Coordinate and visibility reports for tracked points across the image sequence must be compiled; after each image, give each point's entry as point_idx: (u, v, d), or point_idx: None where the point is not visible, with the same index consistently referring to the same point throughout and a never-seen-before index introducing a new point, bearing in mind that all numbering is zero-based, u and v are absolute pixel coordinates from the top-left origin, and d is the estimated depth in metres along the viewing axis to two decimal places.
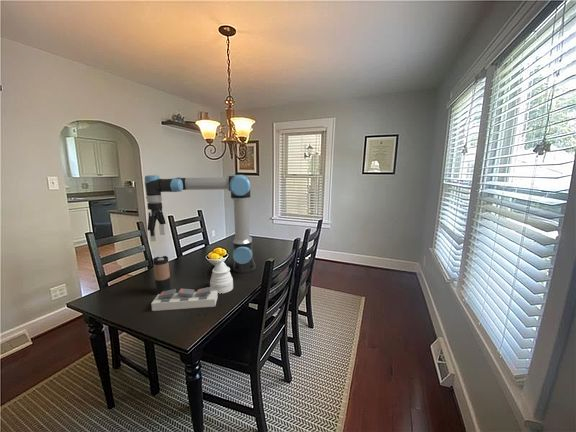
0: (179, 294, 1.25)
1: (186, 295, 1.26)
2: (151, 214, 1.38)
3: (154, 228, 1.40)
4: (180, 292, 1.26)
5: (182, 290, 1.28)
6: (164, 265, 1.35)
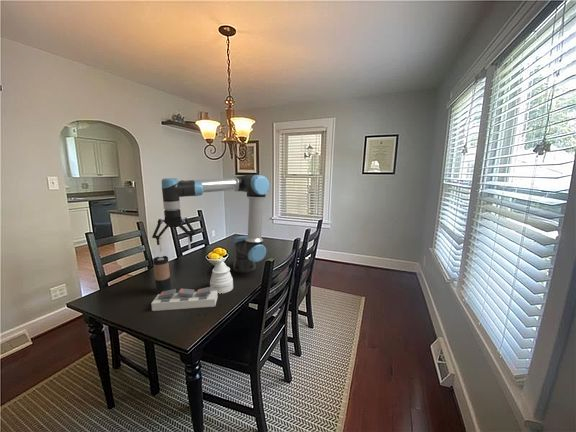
0: (179, 294, 1.25)
1: (186, 295, 1.26)
2: (158, 221, 1.24)
3: (158, 237, 1.25)
4: (180, 292, 1.26)
5: (182, 290, 1.28)
6: (164, 265, 1.35)
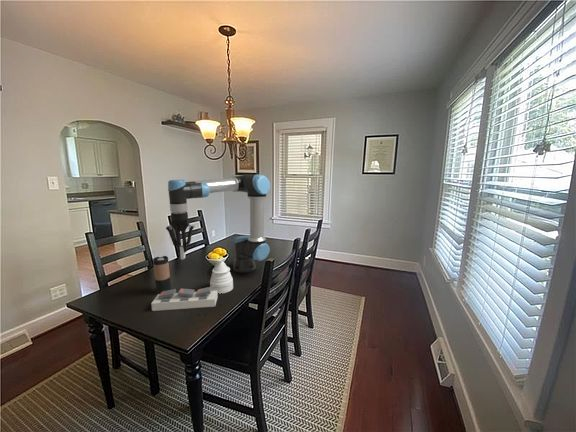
0: (179, 294, 1.25)
1: (186, 295, 1.26)
2: None
3: (179, 244, 1.22)
4: (180, 292, 1.26)
5: (182, 290, 1.28)
6: (164, 265, 1.35)
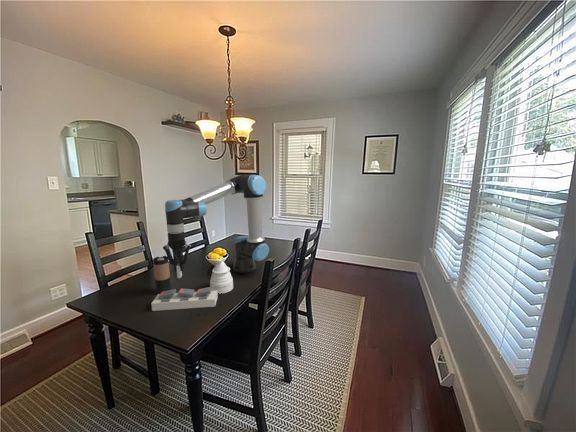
0: (179, 294, 1.25)
1: (186, 295, 1.26)
2: None
3: (175, 263, 1.23)
4: (180, 292, 1.26)
5: (182, 290, 1.28)
6: (164, 265, 1.35)
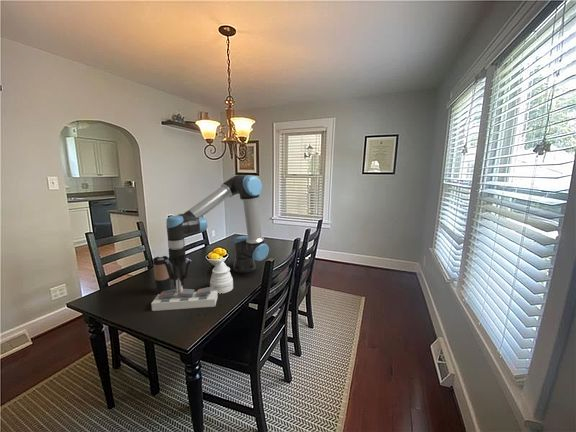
0: (179, 294, 1.25)
1: (186, 295, 1.26)
2: None
3: (175, 278, 1.24)
4: (180, 292, 1.26)
5: (182, 290, 1.28)
6: (164, 265, 1.35)
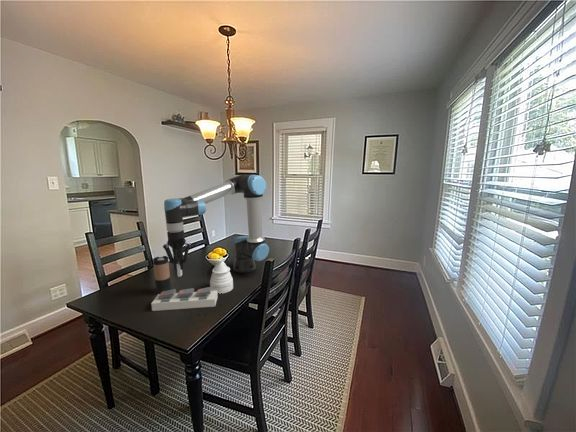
0: (179, 295, 1.25)
1: (186, 295, 1.26)
2: None
3: (175, 262, 1.23)
4: (179, 293, 1.26)
5: (182, 291, 1.28)
6: (164, 265, 1.35)
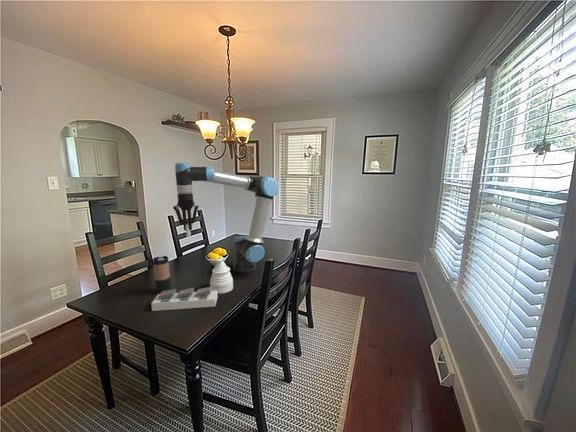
0: (179, 296, 1.25)
1: (186, 295, 1.26)
2: None
3: (184, 222, 1.33)
4: (179, 294, 1.26)
5: (181, 291, 1.28)
6: (164, 265, 1.35)
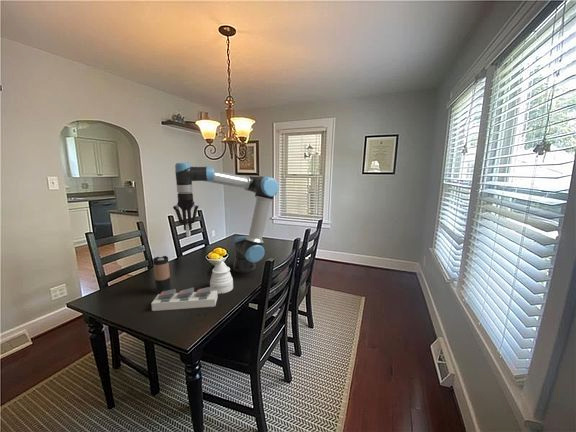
0: (179, 296, 1.25)
1: (186, 295, 1.26)
2: None
3: (184, 222, 1.33)
4: (179, 294, 1.26)
5: (181, 291, 1.28)
6: (164, 265, 1.35)
